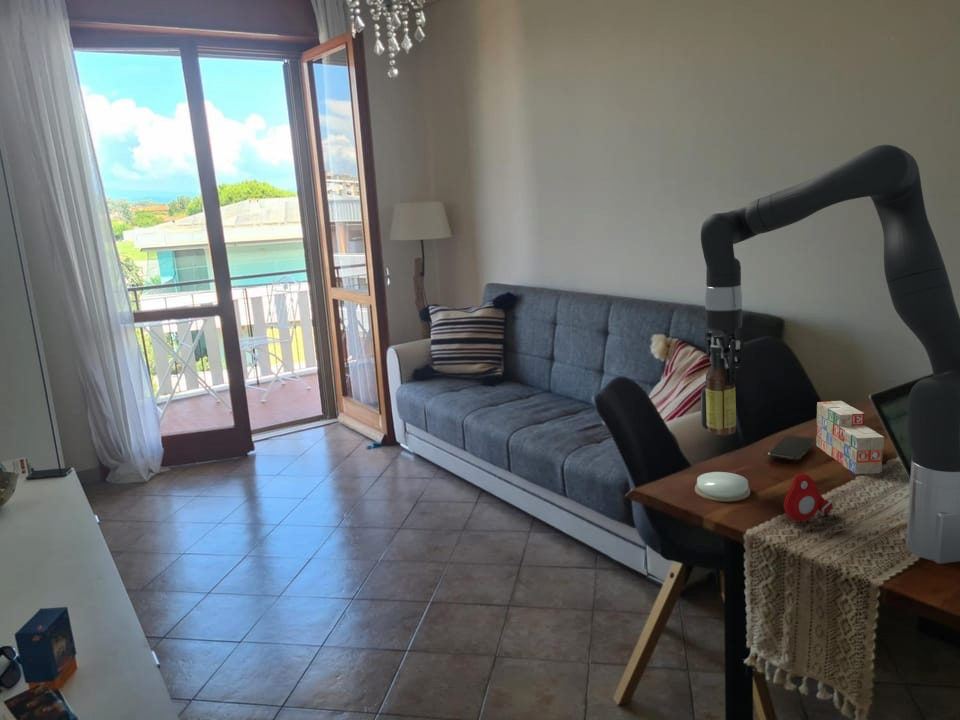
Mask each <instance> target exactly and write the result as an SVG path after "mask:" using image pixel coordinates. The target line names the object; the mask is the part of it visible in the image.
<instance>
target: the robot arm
mask: <svg viewBox="0 0 960 720" xmlns="http://www.w3.org/2000/svg"><path fill="white" fill-rule="evenodd" d="M868 197H870V198H871V201H872V202H873V205H874V207H875V209H876V213H877V215H878V219H879V221H880V224H881V227H882V233H883V268H884V270H883V271H884V276H885V280H886V284H887V288H888V292H889V296H890V299H891V302H892V305H893V307H894V310H895V312H896V314H897V315H898V316H899V318H900V319H901V320H902V322H903V323H904V324H905V325H906V326H907V327H908V329H909V330H910V331H911V333H913V334H914V336H916V339H918V340H919V342H920V343H921V345H922V346H923V347H924V350H925V352H926V354H927V357H928V359H929V362H930V366H931V370H932V374H933V375H932V376H929V377H925V378H922V379H920V380H918V381H917V382H915V384H913V386H912V388H911V390H910V392H909V394H908V400H907V443H908V446H909V448H910V451H911V466H910V478H909V490H908V491H909V493H908V494H909V495H908V509H907V510H908V511H907V526H906V544H905V547H906V549H907V550H908V551H909V552H910V553H911V554H913V555H914V556H916V557H919V558H921V559H924V560H928V561H932V562H935V564H938V565H942V564H949V563H955V562H956V563H957V562H960V314H959V311H958V308H957V306H956V302H955V298H954V294H953V289H952V286H951V283H950V282H951V281H950V279H949V275H948V272H947V269H946V266H945V262H944V259H943V256H942V254H941V250H940V248H939V245H938V242H937V240H936V239H937V238H936V237H935V234H934V231H933V229H932V227H931V225H930V222H929V218H928V215H927V211H926V206H925V200H924V195H923V188H922V182H921V173H920V168H919V166H918V162H917V160H916V158H914V156H913V155H912V154H911V153H909V152H908V151H906V150H904V149H902V148H900V147H899V146H896V145H891V144H880V145H876V146H874V147H871V148H869V149H868V150H867V149H866V150H865V151H864V152H861V153H860V154H858V155H856V156H854V157H852V158H851V159H849V160H847V161H845V162H844V163H842V164H840V165H838V166H836V167H834V168H832V169H829V170H828V171H826V172H823V173H822V174H821V173H820V174H819V175H818V176H815V177H813V178H810V179H808V180H806V181H803V182H801V183H798V184H796V185H792V186H790V187H788V188H784V189H782V190H779V191H776V192H773V193H770V194H768V195H765V196H763V197H760V198H757V199H755V200H753V201H751V202H749V203H748V204H747V205H744V206H743V207H742V206H741V207H739V208H736V209H733V210H730V211H726V212H718V213H717V212H716V213H712V214H711V215H709V216H707V217H706V218H705V220H704V221H703V223H702V225H701V229H700V242H701V243H700V244H701V249H702V254H703V258H704V262H705V265H706V273H705V275H706V280H705V281H706V288H705V289H706V290H705V297H704V298H705V299H704V300H705V301H704V302H705V305H704V306H705V310H704V311H705V312H704V313H705V328H706V329H707V330H710V331H705V333H704V334H705V351H706V357H707V359H709V361H710V362H711V352H710V346H711V345H717V346H718V347H720V356H721V358H722V359H723V360H724V364H725V368H726V369H725V384H726V385H727V386H731V385H735V386H736V385H737V369H738V368H741V367H742V366H743V357H744V340H743V339H737V336H736V330H739V329H741V328H742V326H743V293H742V285H741V284H742V268H741V262H740V260H739V259H738V258H736V257H735V250H734V245H736V244H738V243H741V242H744V241H747V240H749V239H751V238H753V237H755V236H759V235H762V234H765V233H768V232H773V231H775V230H778V229H781V228H784V227H788V226H790V225H793V224H795V223H797V222H799V221H802V220H804V219H806V218H808V217H810V216H812V215H814V214H815V213H817V212H819V211H821V210H823V209H825V208H828V207H830V206H834V205H835V204H839V203H842V202H843V203H844V202H845V201H850V200H855V199H856V200H857V199H861V198H868ZM725 353H729V354H725ZM728 358H729V361H728Z"/></svg>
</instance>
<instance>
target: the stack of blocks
mask: <svg viewBox="0 0 960 720" xmlns="http://www.w3.org/2000/svg"><path fill="white" fill-rule="evenodd" d="M865 416H866V415H865V412H863V411H861V410H859V409H857V408H855V407H853V406H851V405H849V404H847V403H846V402H844V401H842V400H831V401H818V402H817V404H816V436H815V438H816V439H815V441H816V445H815V446H816V447H818V448H819V449H820V450H821V451H822V452H823V453H825V454H826V455H828V456H830V457H831V458H833V460H835V461H837V462H839V463H840V464H841V465H842V466H843V467H845V468H846V469H847V470H849V471H850V472H851V473H853V474H854V475H864V474H865V475H869V474H881V473H882V470H883V469H882V467H883V453H884V444H885V436H883V435H881V434H880V433H878V432H877V431H875V430H874V429H871V428H870V427H869V426H866V425H865ZM880 472H881V473H880Z"/></svg>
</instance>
